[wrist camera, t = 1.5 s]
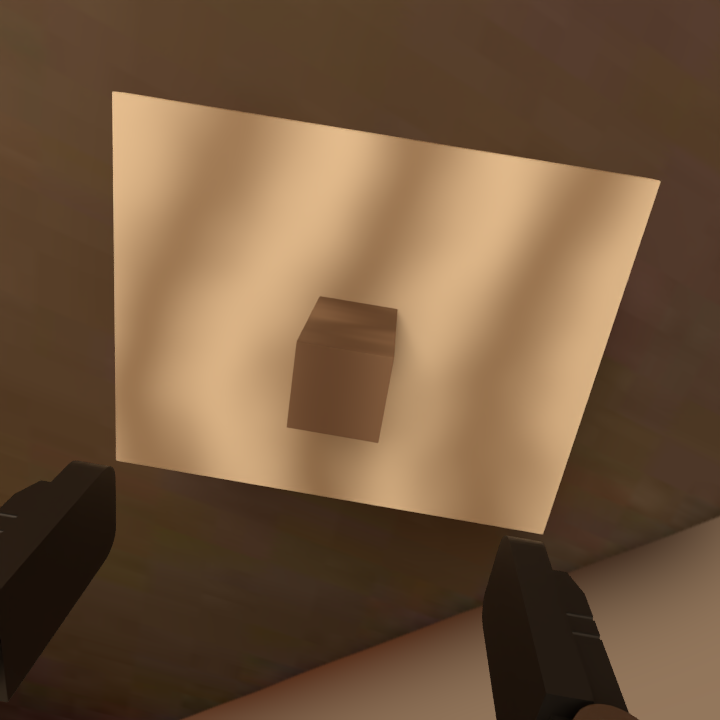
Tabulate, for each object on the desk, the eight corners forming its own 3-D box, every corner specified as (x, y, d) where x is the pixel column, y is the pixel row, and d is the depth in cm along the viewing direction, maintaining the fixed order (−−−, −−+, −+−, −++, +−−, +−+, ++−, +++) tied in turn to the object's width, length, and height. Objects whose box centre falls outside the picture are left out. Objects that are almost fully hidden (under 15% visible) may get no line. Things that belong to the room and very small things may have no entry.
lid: (649, 178, 21) (735, 199, 16) (538, 520, 27) (571, 624, 21) (125, 92, 21) (25, 83, 16) (126, 448, 27) (53, 533, 22)
